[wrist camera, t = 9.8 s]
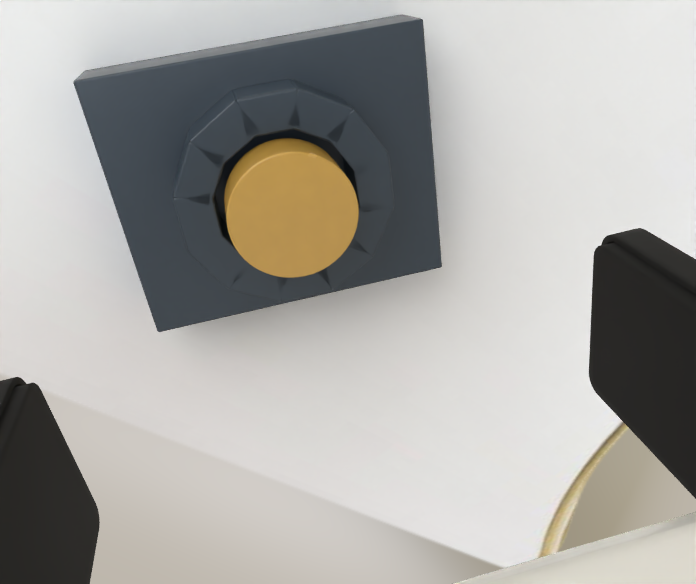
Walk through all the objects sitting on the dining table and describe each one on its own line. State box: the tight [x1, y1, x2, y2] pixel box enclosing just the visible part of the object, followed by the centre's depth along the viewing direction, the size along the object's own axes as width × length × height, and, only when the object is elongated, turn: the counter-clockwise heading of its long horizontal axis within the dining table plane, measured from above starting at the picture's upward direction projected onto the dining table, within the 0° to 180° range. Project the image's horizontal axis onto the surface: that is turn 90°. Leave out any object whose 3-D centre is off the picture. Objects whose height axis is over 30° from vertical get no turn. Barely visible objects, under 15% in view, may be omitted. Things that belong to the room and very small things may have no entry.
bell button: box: [224, 138, 359, 278], centre depth 20 cm, size 4×4×2 cm
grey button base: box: [74, 15, 442, 332], centre depth 22 cm, size 11×9×4 cm
